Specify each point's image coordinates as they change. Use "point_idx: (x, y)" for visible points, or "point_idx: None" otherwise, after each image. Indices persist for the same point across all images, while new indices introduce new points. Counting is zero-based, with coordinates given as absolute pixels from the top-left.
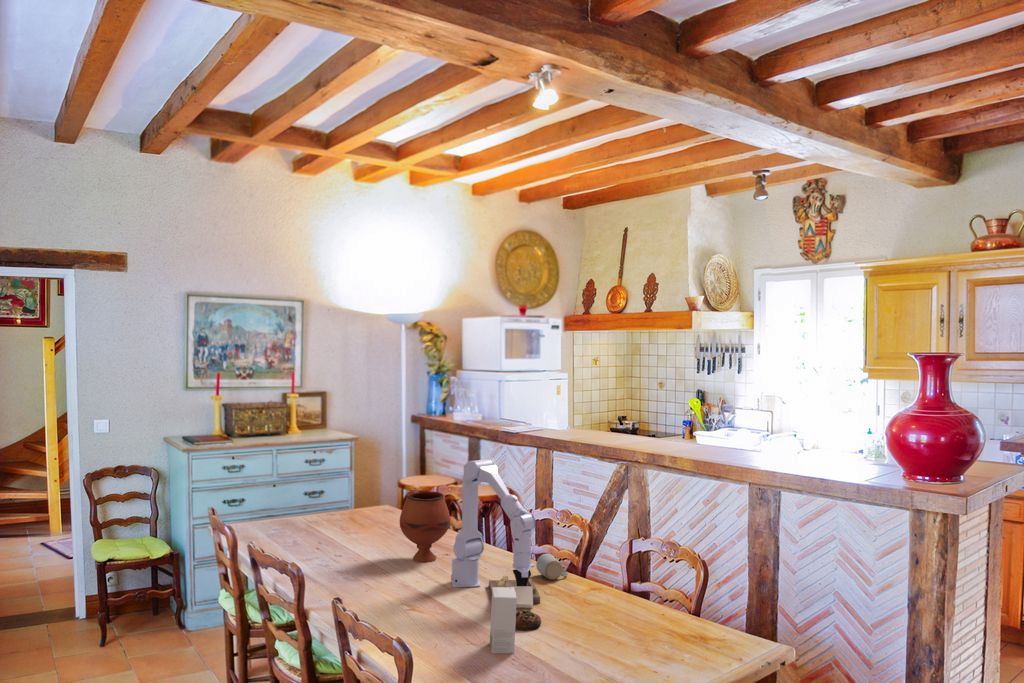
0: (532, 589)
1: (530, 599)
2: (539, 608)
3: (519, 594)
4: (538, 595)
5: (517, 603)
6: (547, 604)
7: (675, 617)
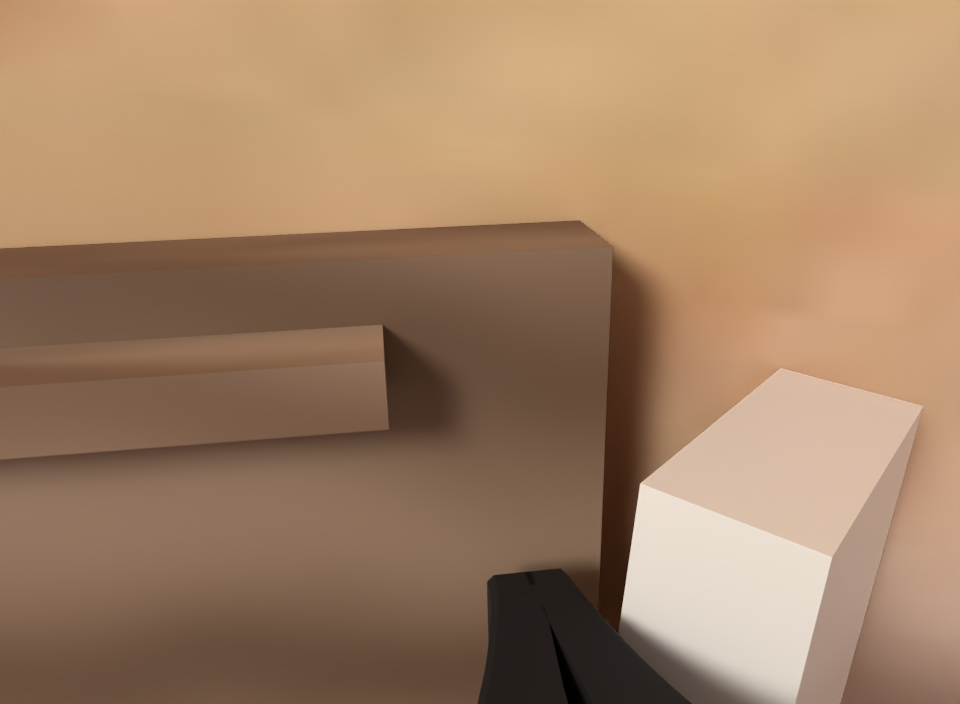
0: (856, 523)
1: (895, 477)
2: (819, 258)
3: (824, 700)
4: (503, 273)
5: (855, 637)
6: (645, 82)
7: None
